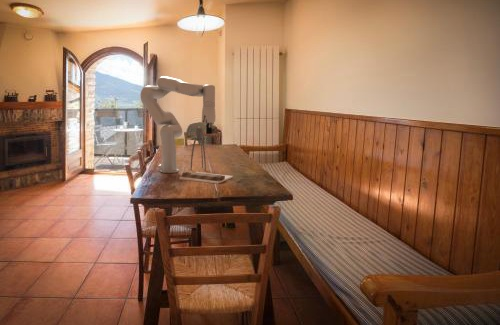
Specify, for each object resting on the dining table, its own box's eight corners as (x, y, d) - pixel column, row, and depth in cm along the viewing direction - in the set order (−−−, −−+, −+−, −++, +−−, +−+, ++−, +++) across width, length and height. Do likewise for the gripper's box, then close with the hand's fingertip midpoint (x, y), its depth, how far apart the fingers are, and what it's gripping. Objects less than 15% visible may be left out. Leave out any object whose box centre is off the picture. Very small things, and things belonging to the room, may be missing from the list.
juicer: (205, 170, 255) (205, 127, 250) (190, 170, 257) (190, 127, 252) (210, 168, 265) (210, 126, 260) (195, 167, 267) (194, 126, 262)
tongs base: (182, 176, 230) (182, 172, 229) (185, 175, 233) (185, 171, 232) (219, 181, 219) (219, 176, 219) (222, 180, 222) (222, 175, 221)
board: (179, 179, 228) (179, 177, 228) (196, 173, 246) (196, 172, 246) (217, 183, 217) (217, 182, 217) (233, 177, 235) (233, 175, 235)
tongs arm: (191, 176, 231) (191, 173, 231) (194, 175, 234) (194, 172, 233) (222, 179, 222) (222, 176, 222) (224, 178, 225) (224, 175, 224)
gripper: (209, 104, 242) (209, 132, 245) (197, 104, 228) (197, 134, 231) (220, 104, 239) (219, 133, 242) (208, 104, 225) (208, 135, 228)
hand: (209, 133), depth 237 cm, fingers closed
